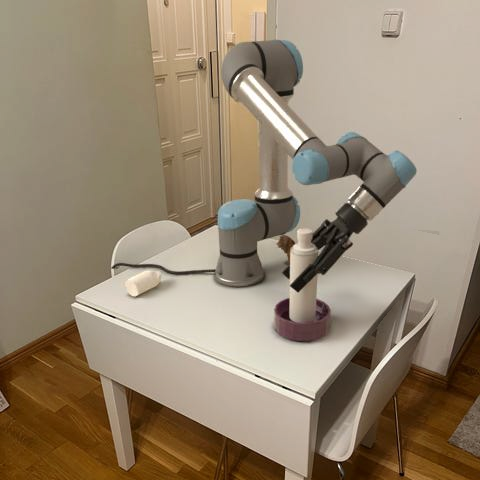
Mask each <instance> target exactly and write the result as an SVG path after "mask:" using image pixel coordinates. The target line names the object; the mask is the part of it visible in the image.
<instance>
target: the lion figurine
mask: <svg viewBox="0 0 480 480" xmlns="http://www.w3.org/2000/svg"><path fill="white" fill-rule="evenodd" d="M278 238H279V239H278V242H276V246H277V248H278V249H281V250H282V251H283V253H284V254H286V256H287V260H286V261H285V263H286V264H287V265H289V264H290V249H291V247H293V246H294V245H295V244H296V242H295V240H294V239H292V238H291V237H290V236H288V235H286V234H284V235H279V237H278Z"/></svg>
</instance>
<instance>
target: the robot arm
mask: <svg viewBox="0 0 480 480" xmlns="http://www.w3.org/2000/svg"><path fill="white" fill-rule="evenodd" d="M220 73H221V74H220V75H221V80H222V85H223V86H224V89H225V91H226V92H227V94H228V95H229V96H230V97H231V99H232V100H233V101H234V102H236V103H237V104H243V106H244V107H245V108H246V109H247V110H248V112H249V113H251V115H252V116H253V117H254V118H255V119H256V120H257V139H258V140H257V141H258V142H257V143H258V144H257V145H258V176H259V177H258V179H259V180H258V181H259V185H258V186H259V188H258V189H257V190H256V191H255V192H254V200H253V199H248V198H241V199H233V200H231V201H227V202H225V203H224V204H223V205H221V206H220V207H219V209H218V211H217V222H216V224H217V228H218V230H217V231H218V232H217V233H218V244H219V245H218V246H219V247H218V248H219V257H218V260H217V264H216V267H215V268H214V269H213V268H210V269H194V270H181V271H175V270H170V269H168V268H166V267H164V266H163V265H160V264H155V263H138V264H133V263H126V262H117V263H115V264H114V265H112V266H111V268H110V269H111V270H114V269H115V268H117V267H120V266H121V267H128V268H158V269H160V270H162V271H164V272H165V273H167V274H171V275H190V274H191V275H192V274H203V273H204V274H205V273H207V274H208V273H214V276H215V280H216V281H217V282H218V283H219V284H221V285H223V286H226V287H227V286H228V287H233V288H234V287H235V288H241V287H249V286H252V285H255V284H256V285H257V284H258V283H260V282H261V281H262V280H263V279H264V267H263V265H262V262H261V259H260V256H259V254H258V243H259V242H261V241H264V240H268V239H271V238H275V237H278V236H282V235H286V234H288V233H290V232H292V231H293V230H295V228H297V226H298V224H299V222H300V218H301V207H300V205H299V201H298V199H297V198H296V197H295V196H294V195H293V191H292V190H291V189H290V188H289V186H288V183H289V179H288V178H289V175H288V172H289V171H288V170H289V157H290V158H291V160H292V162H291V163H292V165H291V168H292V173H293V174H294V179H295V180H296V181H297V182H298V183H299V184H300V185H302V186H311V185H312V186H313V185H320V184H323V183H326V182H330V181H334V180H337V179H342V178H346V177H351V176H356V177H357V178H358V179H360V180H361V181H362V184H360V185H359V186H358V187H357V188H356V190H355V191H354V192H353V193H352V194H351V195H350V196H349V197H348V198H347V201H346V202H343V203H342V205H340V207H339V208H338V209H337V210H336V211H335V215H336V218H335V219H334V220H332V221H330V220H329V219H328V218H326V219H325V220H324V221H323V222H322V223H321V224H320V226H319V227H318V228H317V229H316V230H314V231H313V235H312V240H311V243H312V244H314V245H315V246H316V247H317V248H318V251H319V250H321V249H322V250H321V251H320V253H318V257H317V259H316V260H315V262H314V263H313V265H312V264H309V266H308V267H307V268H306V269H305V270H304V271H303V272H302V273H301V274H300V275H299V276H298V277H297V278H296V279H295V280H294V281H293V283H292V284H291V285H290V284H289V288H290V287H292V288H293V289H294V290H295V291H296V292H298V293H299V292H300V290H301V289H302V288H303V287H304V286H305V285H306V284H307V283H308V282H310V281H311V280H312V279H313V278H314V277H315V276H316V275H317V276H318V275H322V276H325V275H326V274H327V273H328V272H329V270H330V269H331V268H333V266H334V265H335V264H336V263H337V262H338V261H339V259H340V258H341V257H342V256H343V255H344V254H345V252H346V251H348V250H349V249H350V248H351V247H352V246H353V245H354V242H353V241H351V239H350V238H351V237H352V235H353V234H355V235H359V234H360V233H361V232H363V230H364V229H365V228H366V227H367V226H368V223H369V222H372V221H373V220H374V218H376V216H378V215H379V214H380V212H381V211H382V210H383V209H384V208H385V207H386V206H387V205H388V204H389V203H391V201H392V200H393V199H394V198H395V197H396V196H398V194H400V192H401V191H402V190H403V189H405V188H406V187H407V185H408V184H410V182H411V181H412V180H413V178H414V177H415V176H416V175H417V167H416V165H415V164H414V162H413V161H412V160H411V159H410V158H409V157H408V156H406V155H405V154H404V153H403V152H401V151H400V150H398V149H397V150H393V151H392V152H391V153H389V154H388V155H387V154H385V153H384V152H383V151H382V150H380V149H379V148H378V147H377V146H375V145H374V144H373V143H371V142H370V141H369V140H368V139H367V138H366V137H364V136H362V135H360V133H357V132H355V131H350V132H349V131H348V132H346V133H345V135H342V136H341V137H340V138H339V139H338V140H337V141H336V143H335V144H332V145H331V144H330V145H326V144H325V143H324V142H323V141H322V140H321V138H319V136H317V135H316V133H315V132H314V131H313V130H312V129H311V128H310V126H308V124H306V122H304V121H303V119H301V117H300V116H299V115H298V114H297V113H296V112H295V111H294V110H293V109H292V108H291V106H289V102H290V101H291V99H292V98H293V97H294V93H295V92H294V90H295V89H294V88H295V87H296V86H297V85H299V83H300V82H301V79H302V78H303V73H304V62H303V58H302V55H301V52H300V50H299V49H298V48H297V46H296V45H295V43H293V42H292V41H289V40H286V39H269V40H255V41H243V42H238V43H236V44H235V45H233V46H232V47H230V49H229V50H227V53H226V54H225V56H224V57H223V60H222V63H221V69H220ZM368 221H369V222H368ZM317 248H316V249H317ZM281 274H282V275H283V276H284V277H286V278H287V279H288V280H289V281H290V263H288V264H287V266H286V267H285V268H284V269H283V270H282V271H281Z"/></svg>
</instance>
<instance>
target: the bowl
mask: <svg viewBox="0 0 480 480" xmlns="http://www.w3.org/2000/svg"><path fill="white" fill-rule="evenodd" d="M289 309H290V297H286V298H284V299H282V300H280V301H279V302H277V303H276V304H275V306H274V309H273V326H274V330H275V331H276V332H277V333H278V335H280V336H282V337H283V338H285V339H289V340H292V341H299V342H307V341H308V342H309V341H314V340H319V339H320V338H321V339H322V337H324V336H326V335H327V334H328V332H330V326H331V313H332V310H331V308H330V305H329V304H328V303H326V302H325V301H323V300H320V299H319V298H316V317H315V319H314V320H313V321H312V322H310V323H296V322H294V321H292V320H291V319H290V317H289Z"/></svg>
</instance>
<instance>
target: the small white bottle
mask: <svg viewBox="0 0 480 480" xmlns="http://www.w3.org/2000/svg"><path fill="white" fill-rule="evenodd" d="M162 274H163V273H162V272H161V271H160V270H157V271H155V270H150V269H147V270H144V271H142V272H140V273H138V274H135V275H133V276H132V277H130V278H128V279H127V280H125V281H124V288H125V289H126V291H127V292H128V294H129V295H130V296H132V297H138V296H140V295H142V294H144V293H145V292H147V291H149V290H151V289H153V288H155V287H156V286H157V285H158V284H159V283H160V282H161V280H162Z"/></svg>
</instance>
